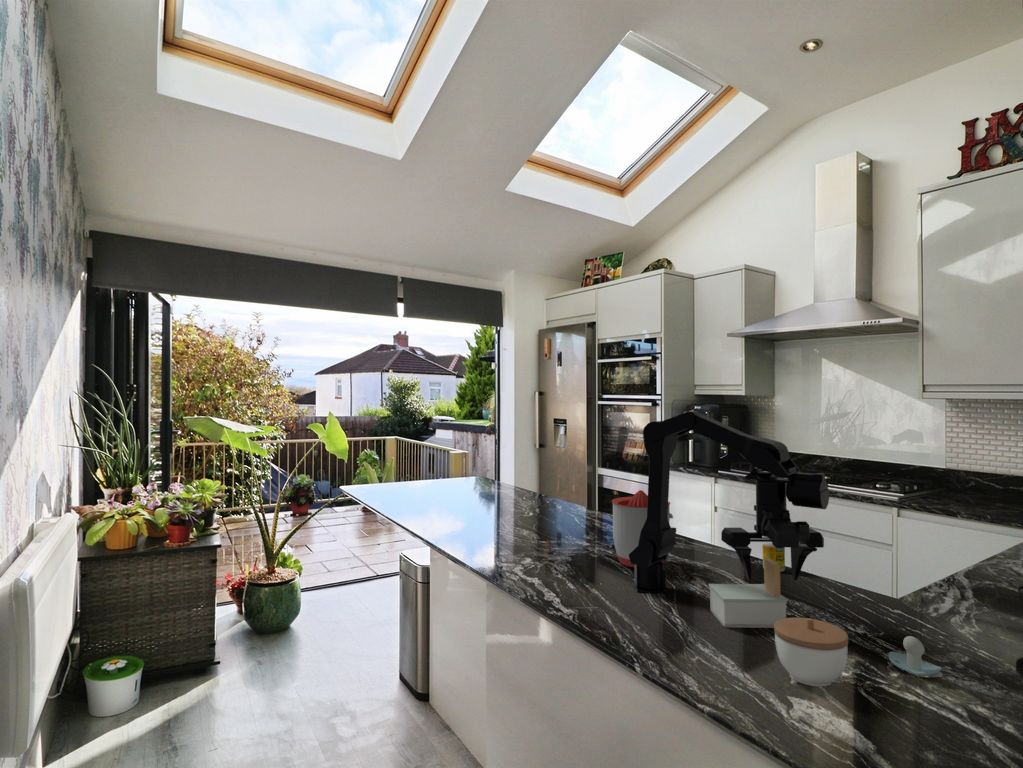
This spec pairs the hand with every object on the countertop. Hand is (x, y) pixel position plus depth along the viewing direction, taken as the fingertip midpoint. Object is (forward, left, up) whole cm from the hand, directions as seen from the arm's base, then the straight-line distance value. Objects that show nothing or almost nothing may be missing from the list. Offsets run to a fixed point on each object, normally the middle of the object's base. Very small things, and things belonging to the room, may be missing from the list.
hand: (771, 579), depth 120 cm
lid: (-5, 0, -3) cm, 6 cm away
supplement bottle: (+15, +35, -8) cm, 39 cm away
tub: (-5, 0, -8) cm, 10 cm away
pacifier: (+14, -23, -8) cm, 28 cm away
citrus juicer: (-18, +40, -8) cm, 45 cm away
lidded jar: (-4, -25, -8) cm, 27 cm away
